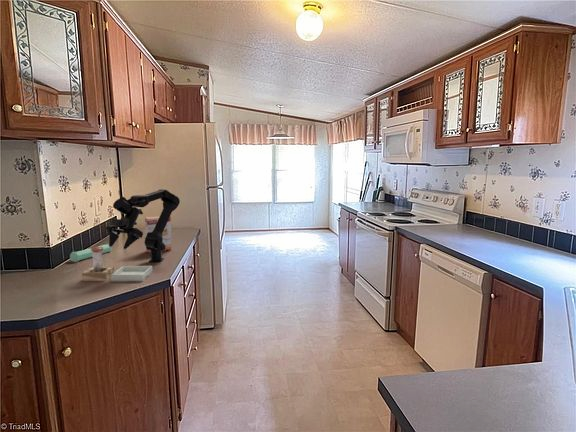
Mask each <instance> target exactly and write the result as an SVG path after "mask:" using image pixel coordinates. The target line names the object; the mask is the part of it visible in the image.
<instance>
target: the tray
mask: <svg viewBox="0 0 576 432" xmlns="http://www.w3.org/2000/svg"><path fill="white" fill-rule="evenodd" d="M151 274H153V265H122V266H121V267H119V268H118V269H117V270H115V271H114V273H113V274H111V277H110V282H144V281H145V280H146V279H147V278H148V277H149V276H150V275H151Z"/></svg>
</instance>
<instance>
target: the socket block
mask: <svg viewBox="0 0 576 432" xmlns="http://www.w3.org/2000/svg"><path fill="white" fill-rule="evenodd" d="M114 272H115V267H114V266H103V272H94V271H93V266H92V267H90V268H88V269H87V270H84V272H81V281H82V282H95V281H97V282H105V281H107V280H108V279H109V278H110V279H111V274H113V273H114Z"/></svg>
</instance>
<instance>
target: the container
mask: <svg viewBox="0 0 576 432" xmlns="http://www.w3.org/2000/svg"><path fill="white" fill-rule="evenodd" d="M97 247H103V250H102V255H104V254H107V253H109V252H111V251H112V249H113V248H112V247H113V246H112V247H109V243H108V244H102V245H99V246H97ZM91 248H92V247H91ZM91 248H87V249H83V250H79V251H72V252H70V254H69V259H70V260H71V262H73V263H78V262H79V261H84V260H88V259H90V258H93V256H92V251H91Z"/></svg>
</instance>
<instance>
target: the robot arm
mask: <svg viewBox="0 0 576 432" xmlns="http://www.w3.org/2000/svg"><path fill="white" fill-rule="evenodd" d="M159 199H160V201H162V207H163V209H162V211H161V213H160V215H159V216H158V217H159V219H158V221H157V224H156V226H155V228H154V230H153V231H152V232H148V233H147V236H146V238H145V237H144V236H143V235H144V232H143V231H142V230H140V229H138V228H136V227H134V226H137V224H138V223H137V219H138V217H139V215H144V212H143V211H142V208H145V207H147V206H148V205H149V203H151V202H154V201H157V200H159ZM180 201H181V200H180V198H179V197H178V196H177V195H176V194H173V193H172V192H170V191H169V190H168V189H161V188H160V189H158V190H156V191H152V192H149V193H145V194H138V195H137V194H135V195H131V196H130V198H128V199H126V197H124V196H120V197H119V198H118V199H116V200H115V201H114V202H113V204H112V208H113V209H114V210H116V211H117V212H119V213H121V214H122V215H124V216H123V217H121V218H120V219H118V218H111V220H110V224H109V225H107V226H106V228H105V231H106V232H107V233H108V235H109V239H108V241H109V242H108V245H109V247H113V245H114V244H115V243H116V242H117V240H118V239H119V238H120V234H126V235H127V236H126V237H127V238H126V239H125V243H124V246H123V249H124V250H127V248H129V247H130V246H131V245H132V244H133V243H135V242H137V240H140V239H143V237H144V245H145V249H146V248H147V250H150V251H151V253H150V259H149V260H148V262H149V263H162V261H163V260H165V258H164V257H163V255H162V254H163V252H164V251H163V250H165V247H166V246H165V244H164V243H163V242H162V241H163V237H162V233H163V231H164V229H165V226H166V224H167V222H168V220H169V217H171V215H172V212H174V211H176V210H177V208H178V206H179V205H180Z"/></svg>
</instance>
